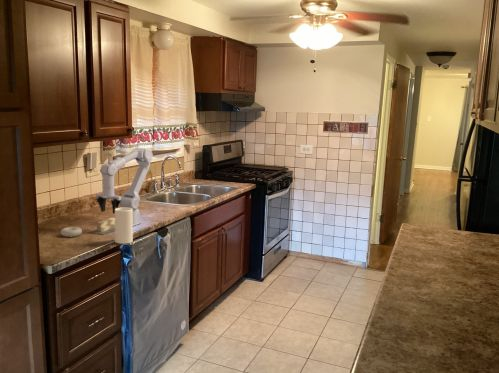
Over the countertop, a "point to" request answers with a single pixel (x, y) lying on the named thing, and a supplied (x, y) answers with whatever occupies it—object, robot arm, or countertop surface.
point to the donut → (71, 231)
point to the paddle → (106, 224)
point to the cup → (123, 225)
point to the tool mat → (103, 231)
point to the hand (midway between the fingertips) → (108, 212)
